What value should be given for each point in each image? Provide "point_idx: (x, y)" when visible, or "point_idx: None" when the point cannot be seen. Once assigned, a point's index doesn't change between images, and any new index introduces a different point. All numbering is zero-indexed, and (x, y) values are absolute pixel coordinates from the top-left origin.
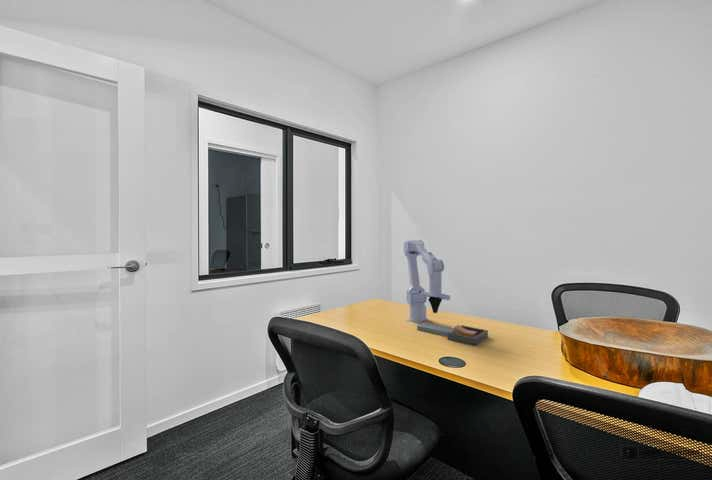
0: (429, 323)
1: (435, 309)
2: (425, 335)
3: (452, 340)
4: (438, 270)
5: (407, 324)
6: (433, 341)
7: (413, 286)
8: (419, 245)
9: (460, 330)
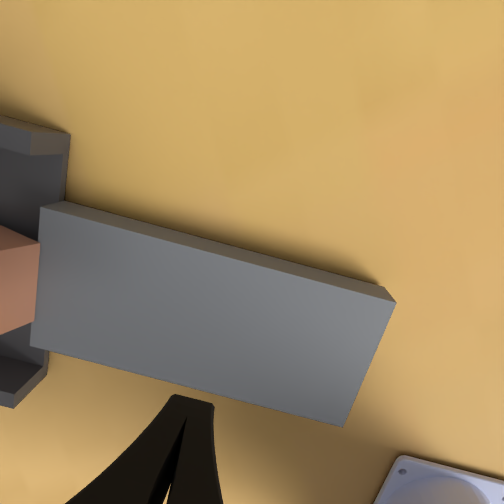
0: (297, 406)
1: (146, 430)
2: (280, 172)
3: (27, 122)
4: None
5: (491, 400)
6: (169, 28)
7: None
8: None
9: None
